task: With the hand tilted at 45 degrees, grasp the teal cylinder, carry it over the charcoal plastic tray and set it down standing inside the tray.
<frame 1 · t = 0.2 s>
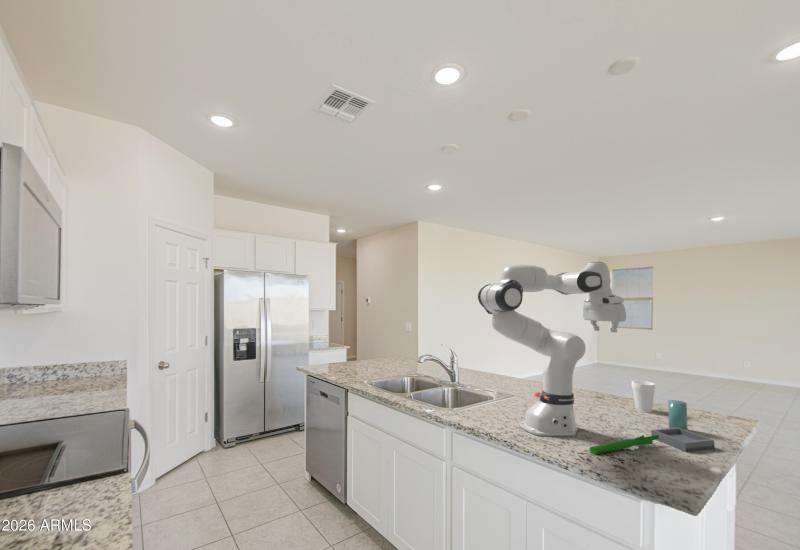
hand: (605, 331, 156), 39 cm above the worktop, tool pointing down, fingers open, 8 cm apart
green onion: (626, 449, 128), on the worktop
tray: (681, 443, 133), on the worktop
foam cup: (643, 410, 173), on the worktop
teal cylinder: (678, 429, 148), on the worktop
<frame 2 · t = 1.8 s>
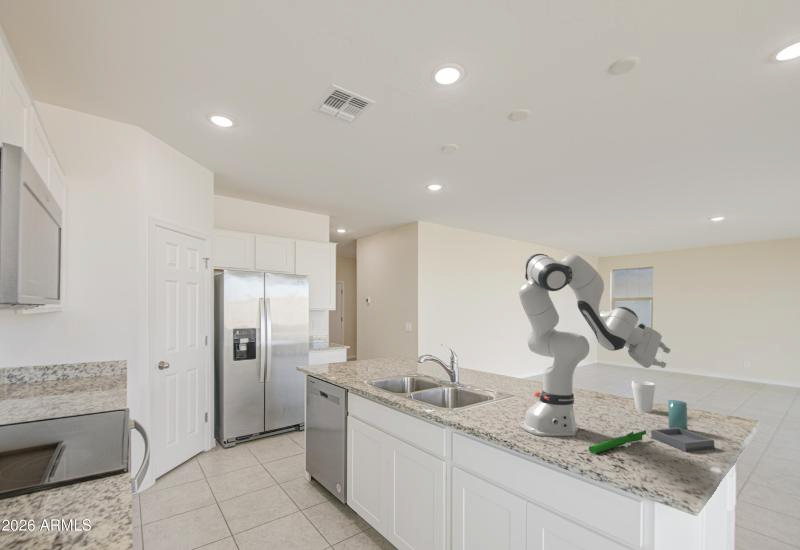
hand: (667, 358, 147), 29 cm above the worktop, tool tilted 55°, fingers open, 8 cm apart
green onion: (619, 446, 131), on the worktop
everything else where it was.
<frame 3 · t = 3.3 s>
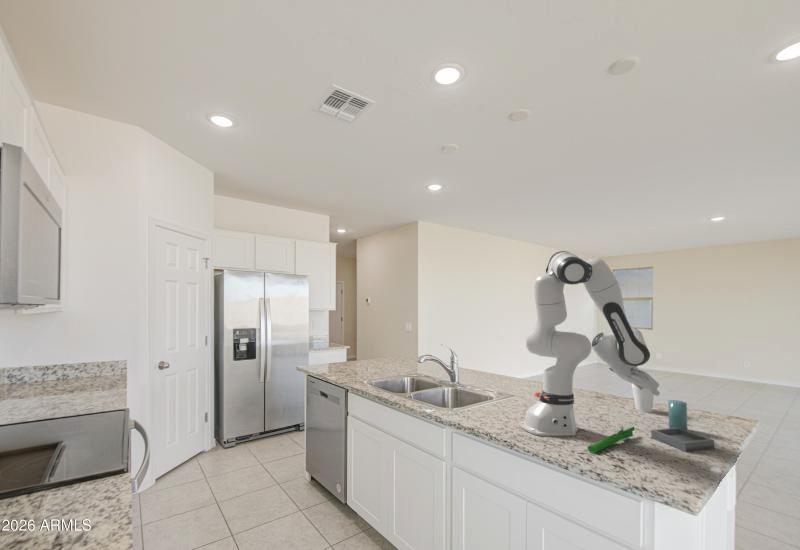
hand: (649, 391, 148), 15 cm above the worktop, tool tilted 45°, fingers open, 8 cm apart
green onion: (613, 444, 133), on the worktop
everything else where it was.
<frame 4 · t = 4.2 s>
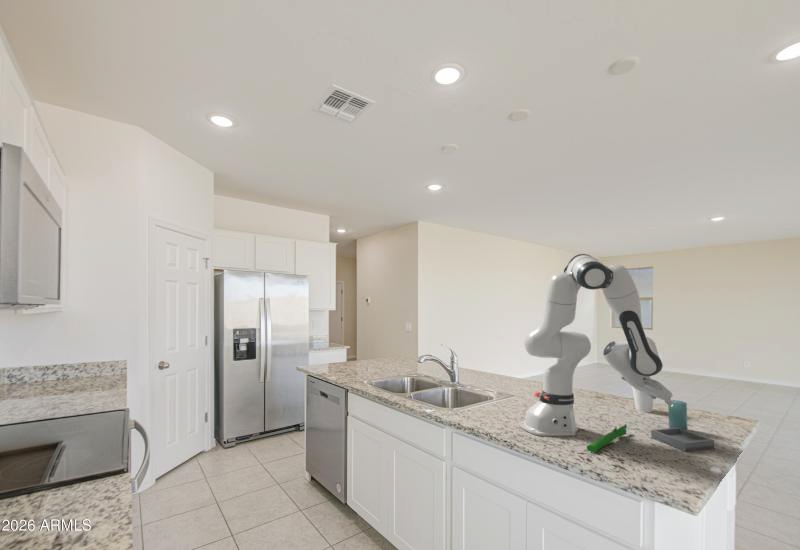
hand: (662, 400, 147), 12 cm above the worktop, tool tilted 45°, fingers open, 8 cm apart
green onion: (609, 442, 134), on the worktop
everything else where it was.
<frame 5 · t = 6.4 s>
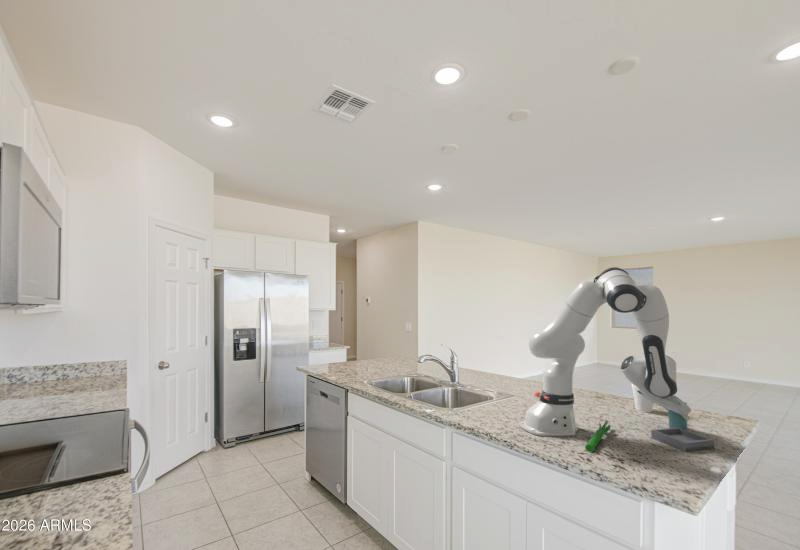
hand: (679, 414, 148), 6 cm above the worktop, tool tilted 45°, fingers closed on teal cylinder, 6 cm apart
green onion: (598, 439, 137), on the worktop
teal cylinder: (678, 429, 148), on the worktop, touching gripper
everything else where it was.
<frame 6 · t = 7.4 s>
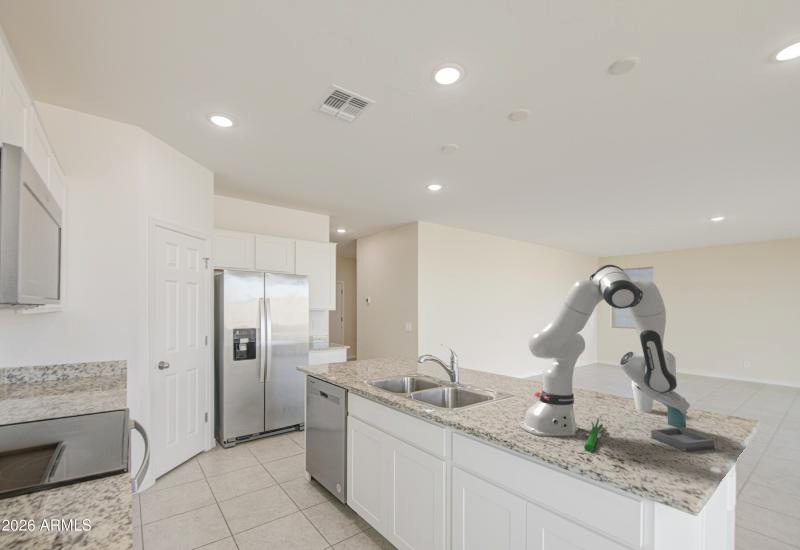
hand: (677, 410, 148), 8 cm above the worktop, tool tilted 45°, fingers closed on teal cylinder, 6 cm apart
green onion: (593, 438, 138), on the worktop
teal cylinder: (676, 425, 148), point 2 cm above the worktop, touching gripper
everything else where it was.
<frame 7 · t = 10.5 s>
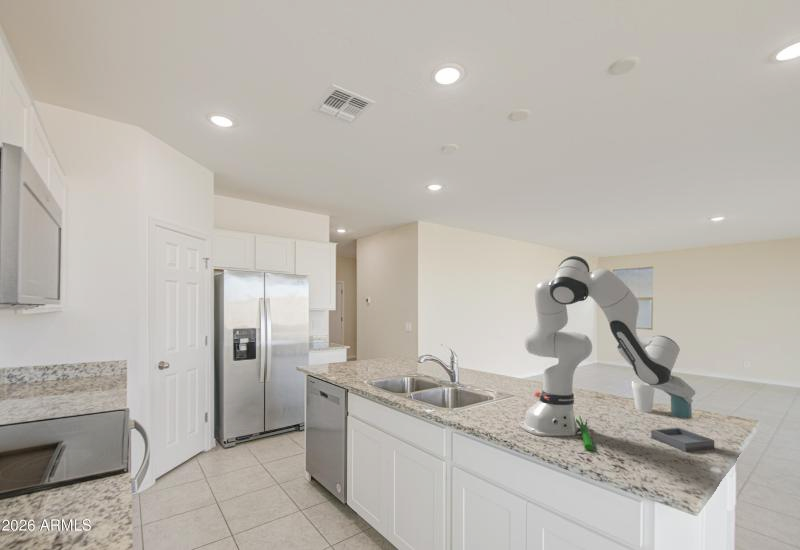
hand: (682, 399, 134), 16 cm above the worktop, tool tilted 45°, fingers closed on teal cylinder, 6 cm apart
green onion: (583, 436, 140), on the worktop
teal cylinder: (681, 415, 134), point 10 cm above the worktop, touching gripper
everything else where it was.
when the fingers open (9 cm above the worktop, at t = 12.6 s): teal cylinder drops 1 cm, resting on tray.
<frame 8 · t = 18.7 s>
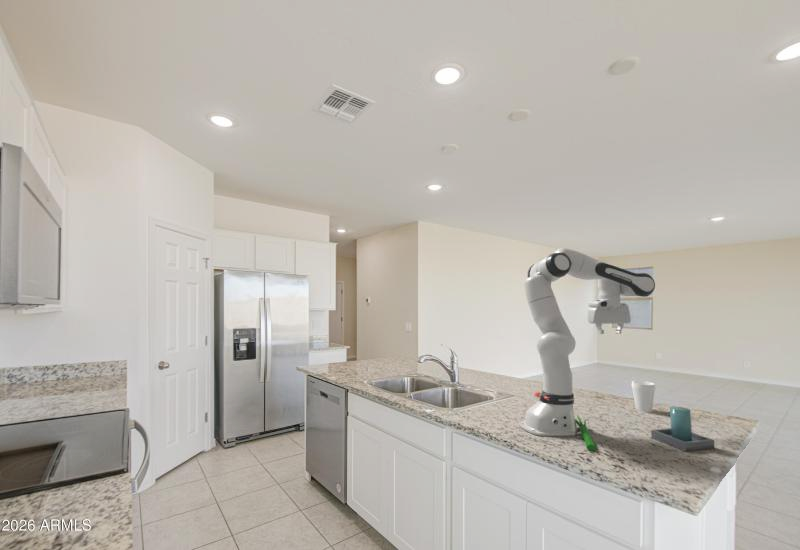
hand: (609, 333, 164), 37 cm above the worktop, tool pointing down, fingers open, 8 cm apart
teal cylinder: (681, 439, 134), point 1 cm above the worktop, touching tray
everything else where it was.
at the end: teal cylinder inside the target area on the tray (0.1 cm from its centre), point 1.3 cm above the tray's base; teal cylinder tilted 1°; the gripper is holding nothing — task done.
